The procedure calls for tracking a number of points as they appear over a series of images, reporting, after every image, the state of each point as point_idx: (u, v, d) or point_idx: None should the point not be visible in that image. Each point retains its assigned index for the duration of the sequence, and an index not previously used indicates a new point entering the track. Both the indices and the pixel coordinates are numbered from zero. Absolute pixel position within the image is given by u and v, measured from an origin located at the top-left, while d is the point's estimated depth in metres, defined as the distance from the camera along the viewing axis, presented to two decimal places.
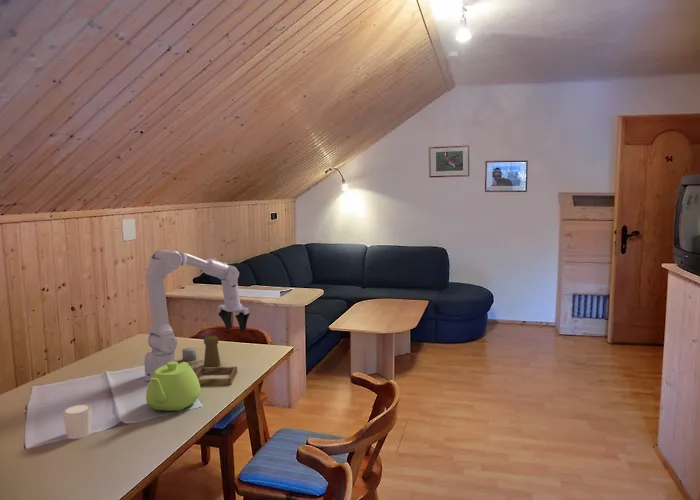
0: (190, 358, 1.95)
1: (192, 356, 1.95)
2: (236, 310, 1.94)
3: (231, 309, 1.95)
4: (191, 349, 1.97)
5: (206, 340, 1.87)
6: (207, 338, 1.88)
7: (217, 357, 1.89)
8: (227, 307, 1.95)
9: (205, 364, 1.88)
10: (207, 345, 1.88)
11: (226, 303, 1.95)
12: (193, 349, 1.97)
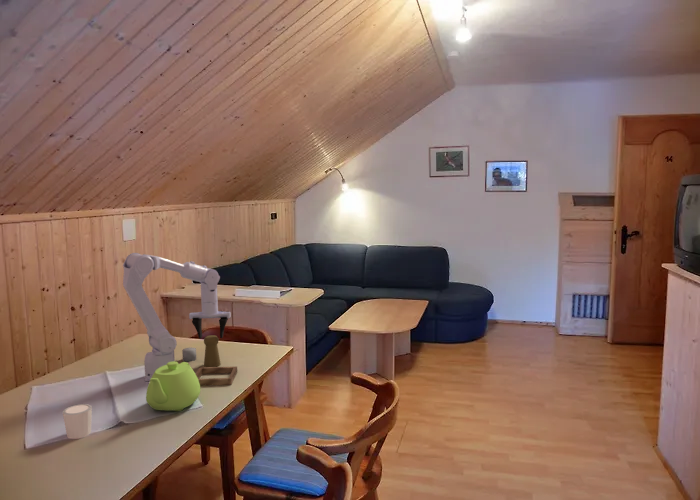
0: (190, 358, 1.95)
1: (192, 356, 1.95)
2: (219, 314, 1.87)
3: (212, 314, 1.86)
4: (191, 349, 1.97)
5: (206, 340, 1.87)
6: (207, 338, 1.88)
7: (217, 357, 1.89)
8: (208, 312, 1.86)
9: (205, 364, 1.88)
10: (207, 345, 1.88)
11: (207, 308, 1.85)
12: (193, 349, 1.97)
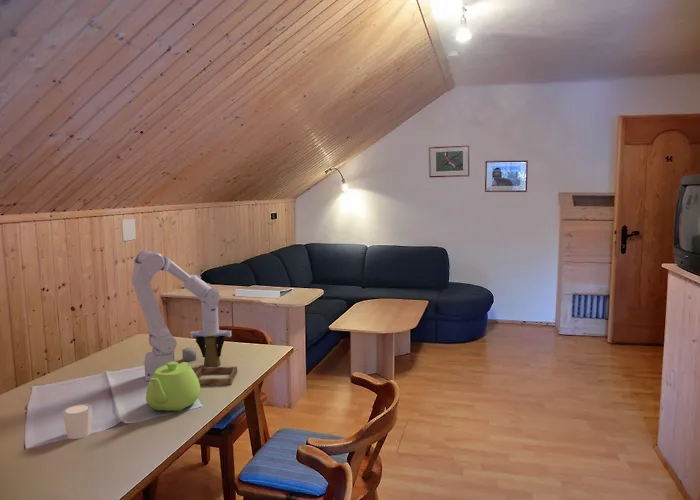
0: (190, 358, 1.95)
1: (192, 356, 1.95)
2: (220, 333, 1.87)
3: (213, 333, 1.87)
4: (191, 349, 1.97)
5: (206, 340, 1.87)
6: (207, 338, 1.88)
7: (217, 357, 1.89)
8: (209, 331, 1.86)
9: (205, 364, 1.88)
10: (207, 345, 1.88)
11: (208, 327, 1.86)
12: (193, 349, 1.97)
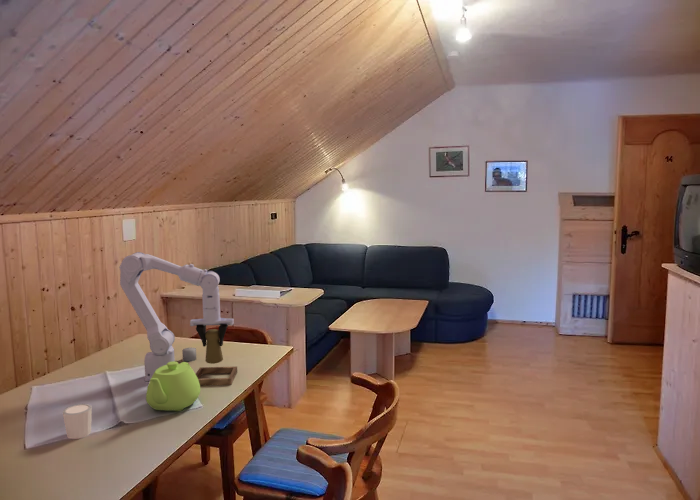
0: (190, 358, 1.95)
1: (192, 356, 1.95)
2: (221, 321, 1.77)
3: (214, 321, 1.76)
4: (191, 349, 1.97)
5: (207, 335, 1.77)
6: (208, 333, 1.78)
7: (219, 352, 1.80)
8: (210, 319, 1.76)
9: (206, 359, 1.80)
10: (208, 340, 1.78)
11: (209, 315, 1.76)
12: (193, 349, 1.97)
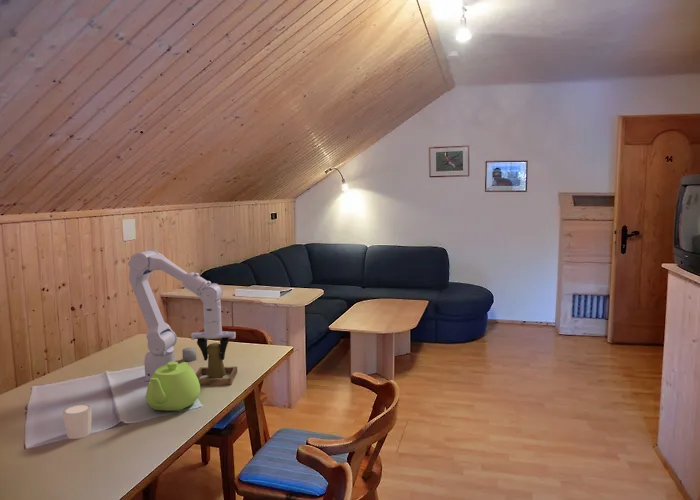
0: (190, 358, 1.95)
1: (192, 356, 1.95)
2: (223, 335, 1.73)
3: (216, 335, 1.73)
4: (191, 349, 1.97)
5: (208, 350, 1.74)
6: (209, 347, 1.74)
7: (221, 366, 1.76)
8: (211, 333, 1.72)
9: (209, 374, 1.76)
10: (210, 355, 1.74)
11: (210, 328, 1.72)
12: (193, 349, 1.97)
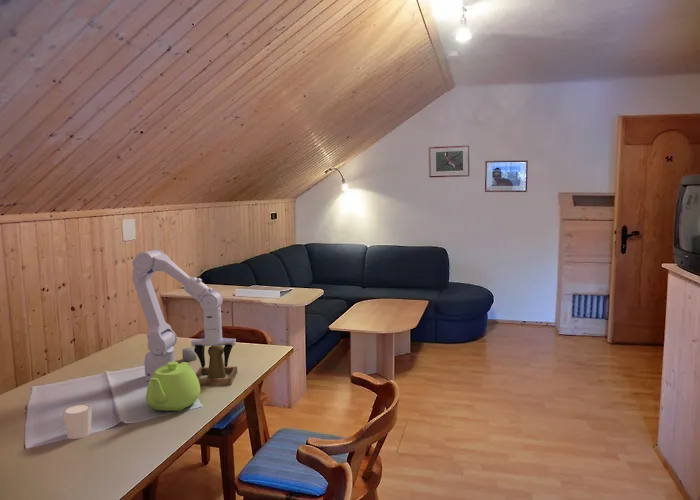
0: (190, 358, 1.95)
1: (192, 356, 1.95)
2: (223, 342, 1.74)
3: (216, 342, 1.73)
4: (191, 349, 1.97)
5: (210, 350, 1.75)
6: (211, 348, 1.76)
7: (222, 368, 1.77)
8: (212, 340, 1.72)
9: (209, 376, 1.77)
10: (211, 356, 1.76)
11: (211, 335, 1.72)
12: (193, 349, 1.97)
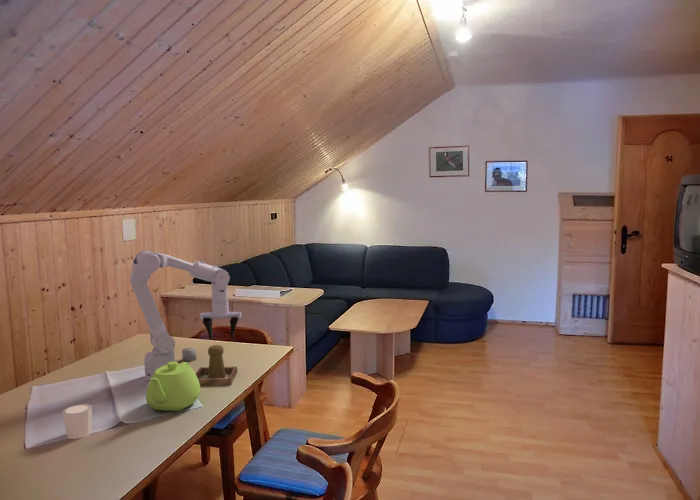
0: (190, 358, 1.95)
1: (192, 356, 1.95)
2: (230, 315, 1.86)
3: (223, 314, 1.85)
4: (191, 349, 1.97)
5: (210, 350, 1.75)
6: (211, 348, 1.76)
7: (222, 368, 1.77)
8: (219, 312, 1.85)
9: (209, 376, 1.77)
10: (211, 356, 1.76)
11: (218, 308, 1.85)
12: (193, 349, 1.97)
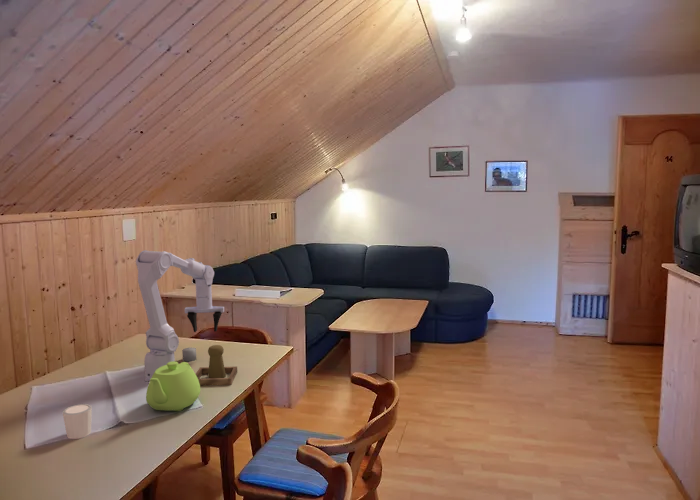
0: (190, 358, 1.95)
1: (192, 356, 1.95)
2: (213, 309, 1.95)
3: (207, 308, 1.95)
4: (191, 349, 1.97)
5: (210, 350, 1.75)
6: (211, 348, 1.76)
7: (222, 368, 1.77)
8: (203, 307, 1.94)
9: (209, 376, 1.77)
10: (211, 356, 1.76)
11: (202, 303, 1.94)
12: (193, 349, 1.97)
